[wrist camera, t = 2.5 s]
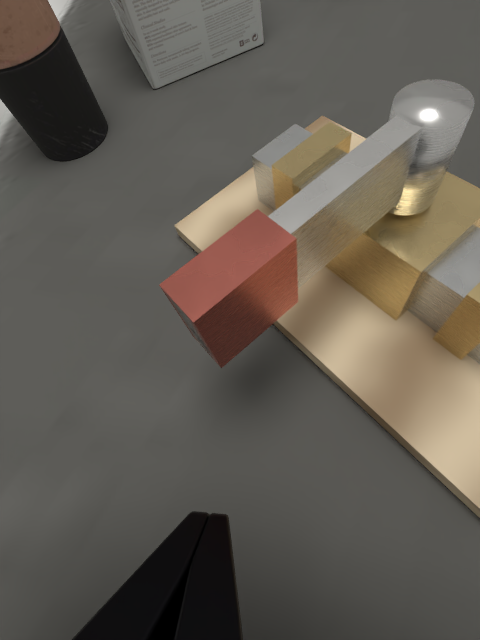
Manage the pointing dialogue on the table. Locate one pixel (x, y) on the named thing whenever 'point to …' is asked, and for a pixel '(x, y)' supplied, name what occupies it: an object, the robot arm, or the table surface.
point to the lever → (319, 221)
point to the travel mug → (46, 82)
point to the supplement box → (187, 34)
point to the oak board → (372, 352)
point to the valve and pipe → (394, 240)
